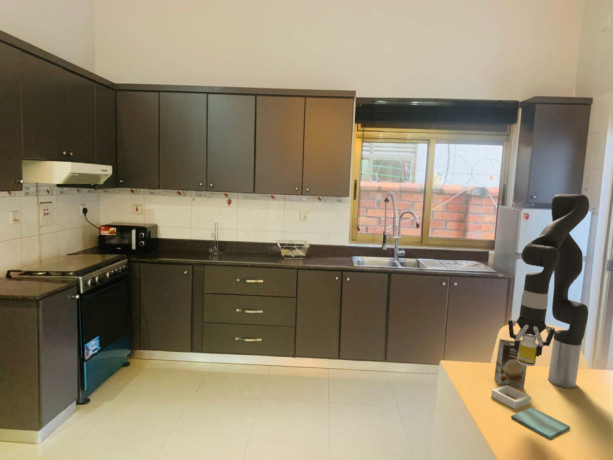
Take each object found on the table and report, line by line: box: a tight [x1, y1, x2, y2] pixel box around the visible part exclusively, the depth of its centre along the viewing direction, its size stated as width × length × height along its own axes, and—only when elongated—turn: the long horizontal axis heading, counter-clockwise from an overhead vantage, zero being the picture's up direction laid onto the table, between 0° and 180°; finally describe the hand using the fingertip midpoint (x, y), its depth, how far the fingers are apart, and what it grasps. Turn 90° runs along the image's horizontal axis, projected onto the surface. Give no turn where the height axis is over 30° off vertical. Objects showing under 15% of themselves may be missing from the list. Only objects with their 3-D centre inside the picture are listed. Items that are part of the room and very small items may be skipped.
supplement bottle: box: [517, 333, 538, 367], centre depth 132 cm, size 5×5×10 cm
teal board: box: [510, 406, 571, 440], centre depth 126 cm, size 12×12×1 cm
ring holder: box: [490, 385, 532, 410], centre depth 139 cm, size 9×9×2 cm
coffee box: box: [494, 338, 528, 389], centre depth 152 cm, size 9×6×16 cm
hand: (527, 353), depth 132 cm, fingers closed on supplement bottle, 5 cm apart
